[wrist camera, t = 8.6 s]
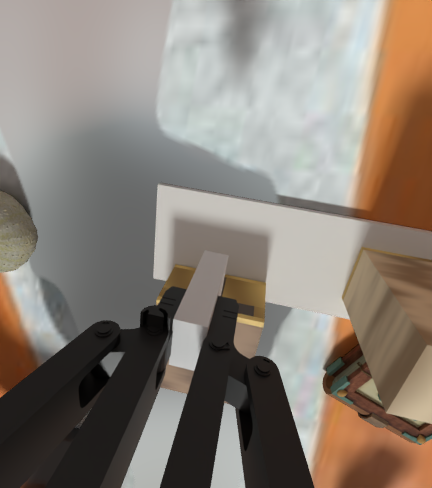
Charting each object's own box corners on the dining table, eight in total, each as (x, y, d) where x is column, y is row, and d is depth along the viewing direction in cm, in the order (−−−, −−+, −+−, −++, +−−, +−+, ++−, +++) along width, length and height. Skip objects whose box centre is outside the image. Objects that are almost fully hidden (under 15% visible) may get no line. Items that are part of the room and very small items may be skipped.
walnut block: (175, 264, 32) (170, 344, 39) (156, 299, 27) (154, 385, 34) (265, 282, 31) (245, 362, 38) (264, 322, 26) (240, 406, 33)
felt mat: (155, 274, 34) (153, 278, 34) (160, 182, 30) (157, 184, 29) (450, 336, 31) (455, 341, 31) (509, 245, 27) (516, 248, 26)
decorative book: (426, 436, 39) (446, 479, 34) (316, 372, 37) (323, 408, 33) (522, 381, 33) (563, 424, 28) (398, 302, 31) (419, 335, 27)
